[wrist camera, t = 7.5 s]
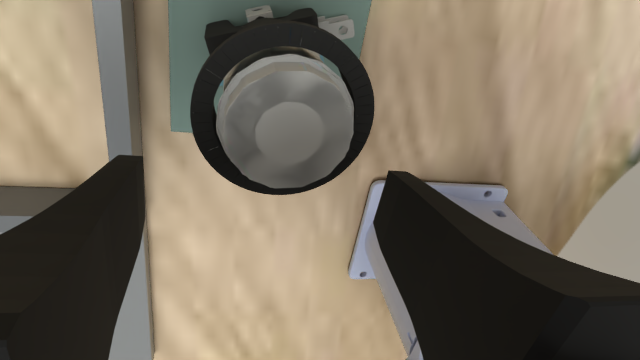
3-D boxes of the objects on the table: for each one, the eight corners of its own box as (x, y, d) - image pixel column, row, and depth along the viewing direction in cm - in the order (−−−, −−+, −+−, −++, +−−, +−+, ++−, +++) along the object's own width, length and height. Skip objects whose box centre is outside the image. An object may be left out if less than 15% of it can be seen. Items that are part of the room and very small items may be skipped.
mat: (386, -90, 18) (390, -90, 18) (339, 138, 24) (341, 142, 23) (166, -136, 16) (165, -137, 16) (172, 127, 22) (170, 131, 21)
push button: (338, -40, 18) (429, 1, 10) (352, 76, 21) (431, 180, 13) (188, -10, 18) (155, 58, 10) (223, 104, 21) (221, 230, 13)
